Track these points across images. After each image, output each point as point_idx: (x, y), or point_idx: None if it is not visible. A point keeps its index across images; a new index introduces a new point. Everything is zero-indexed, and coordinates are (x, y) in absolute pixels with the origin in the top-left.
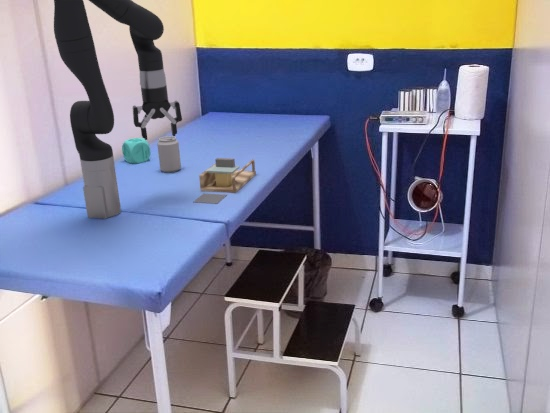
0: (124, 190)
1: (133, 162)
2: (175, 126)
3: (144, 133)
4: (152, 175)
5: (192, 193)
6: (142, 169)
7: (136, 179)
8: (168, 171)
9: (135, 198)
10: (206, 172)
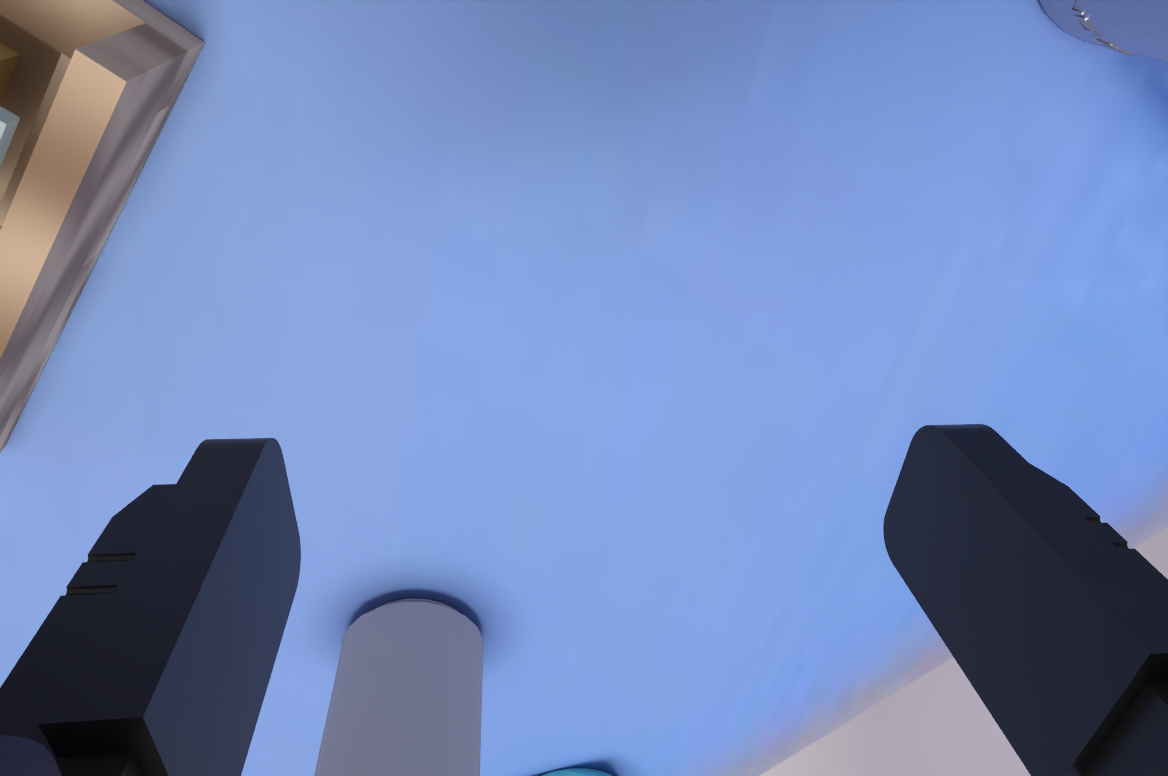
0: (796, 393)
1: (601, 774)
2: (52, 673)
3: (1088, 525)
4: (546, 587)
5: (293, 54)
6: (578, 688)
7: (657, 556)
8: (436, 604)
9: (795, 176)
10: (33, 155)
